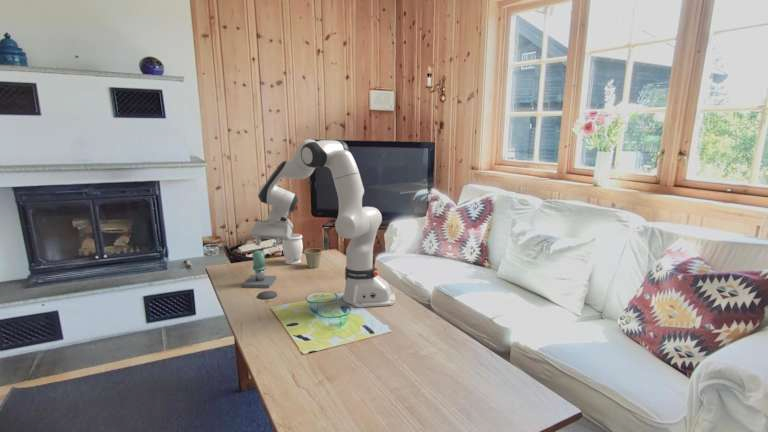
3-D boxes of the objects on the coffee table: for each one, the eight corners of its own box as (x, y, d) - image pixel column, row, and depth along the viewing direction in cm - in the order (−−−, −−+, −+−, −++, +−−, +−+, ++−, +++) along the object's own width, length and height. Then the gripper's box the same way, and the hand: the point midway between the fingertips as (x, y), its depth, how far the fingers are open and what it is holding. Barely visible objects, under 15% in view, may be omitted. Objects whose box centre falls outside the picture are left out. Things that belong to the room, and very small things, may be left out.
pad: (279, 292, 184) (279, 291, 184) (273, 299, 177) (273, 298, 176) (261, 292, 185) (261, 290, 184) (255, 299, 177) (255, 297, 177)
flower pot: (301, 268, 217) (301, 252, 215) (307, 263, 226) (307, 247, 224) (319, 269, 215) (318, 253, 213) (324, 264, 224) (324, 248, 223)
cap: (267, 266, 197) (266, 250, 195) (263, 270, 191) (262, 254, 190) (255, 266, 197) (254, 250, 195) (251, 270, 191) (250, 253, 190)
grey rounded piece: (266, 277, 198) (265, 266, 197) (262, 282, 192) (261, 271, 191) (257, 277, 198) (257, 266, 197) (253, 282, 192) (252, 270, 191)
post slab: (276, 278, 201) (276, 275, 201) (268, 287, 189) (268, 284, 189) (251, 278, 202) (251, 275, 201) (242, 287, 190) (242, 284, 189)
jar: (307, 261, 228) (306, 235, 225) (293, 266, 220) (292, 239, 217) (293, 258, 234) (292, 232, 231) (279, 263, 225) (278, 236, 222)
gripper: (254, 216, 205) (243, 240, 198) (291, 219, 200) (281, 244, 192) (260, 223, 211) (249, 247, 203) (296, 226, 205) (287, 251, 198)
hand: (265, 245), depth 198 cm, fingers open, 8 cm apart
